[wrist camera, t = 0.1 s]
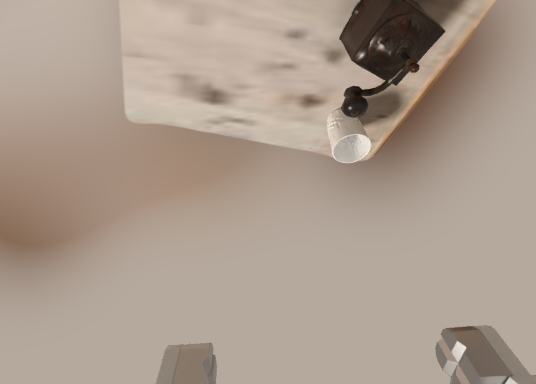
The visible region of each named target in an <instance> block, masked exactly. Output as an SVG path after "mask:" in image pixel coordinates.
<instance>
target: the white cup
mask: <svg viewBox="0 0 536 384" xmlns="http://www.w3.org/2000/svg"><path fill="white" fill-rule="evenodd" d="M327 128H328V135H329V141H330V145H331V149H332V154H333V157H334V158H335V159H336V160H337V161H339V162H342V163H352V162H356V161H358V160H360V159H362V158H363V157H365V156H366V155H367V154H368V152H369V151H370V148H371V141H370V139H369V137H368V135H367V133H366V131H365V129H364V127H363V126H362V124H361V122H360V120H359V119H358V117H357V118H351V117H347V116H346V115H345V114H344V113H343V112H342V110H341V109H337V110H335V111H334V112H332V113H331V114H330V116H329V117H328V119H327Z"/></svg>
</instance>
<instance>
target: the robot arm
mask: <svg viewBox="0 0 536 384" xmlns="http://www.w3.org/2000/svg"><path fill="white" fill-rule="evenodd" d="M441 335H442V337H443V338H442V339H441V340H439V341H438V342H437V345H436V356H437V359H438V362H439V364H440V366H441V368H442V370H443V371H444V372H445V373H447V374H448V375H449V376H450V377H451V382H450V384H536V375H530V374H529V372H528V371H527V370H526V369H525V367H524V366H523V365H522V363H521V362H520V361H519V360H518V358H517V357H516V356H515V355H514V353H513V352H512V351H511V349H510V348H509V347H508V346H507V344H506V343H505V342H504V341H503V339H502V338H501V337H500V335H499V334H498V333H497V332H496V330H495V329H494V328H492V327H491V326H487V325H485V326H467V327H455V328H446V329H443V330H442V333H441ZM216 368H217V365H216V358H215V355H213V345H212V343H202V344H186V345H184V344H182V345H168V346H167V348H166V350H165V352H164V356H163V359H162V363H161V367H160V370H159V374H158V377H157V381H156V384H216V370H217V369H216Z"/></svg>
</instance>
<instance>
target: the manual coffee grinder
mask: <svg viewBox="0 0 536 384" xmlns="http://www.w3.org/2000/svg"><path fill="white" fill-rule="evenodd" d="M444 32H445V30H444V29H443V28H442V27H441V26H440V25H439V24H438V23H437V22H436V21H435V20H434V19H433V18H431V17H430V16H429V15H428V14H427V13H426V12H425V11H424V10H423V9H422V8H421V7H420V6H419V5H418V4H417V3H416V2H414V1H413V0H361V1H360V3H358V4H357V5H356V7H355V8H354V10H353V12H352V16H351V17H350V19H349V21H348V22H347V24H346V26H345V27H344V29H343V32H342V34H341V36H340V38H339V39H340V40H341V41H342V43H343V44H344V47H345V49H346V50H347V52H348V54H349V56H350V58H351V60H352V61H353V62H355V63H356V64H357V65H359V66H360V67H362V68H364V69H366V70H367V71H369V72H371V73H373V74H375V75H376V76H378V77H380V78H381V79H383V80H386V81H385V82H384V83H382V84H381V85H380V86H378V87H376V88H372V89H365V90H362V89H361V88H360V87H359V86H352V87H349V88H347V89H346V91H345V93H344V96H345V97H346V98H345V100H344V102H343V104H342V107H341V110H342V112H343V113H344V114H345V115H346V116H347V117H351V118H357V117H359V116H362V115H363V114H364V113H365V112H366V110H367V107H368V102H367V100H366V99H365V98H363V97H362V96H371V95H374V94H377V93H379V92H381V91H383V90H385V89H386V88H387V87H388V86H390V85H391V84H394V85H397V84H398V83H399V82H400V81H401V80H402V79H403V78H404V77H405V76H406V74H407V73H408V72H409V71H411V73H413V72H414V73H416V72H417V71H418V70H419V65H418V64H417V62H418V61H419V60H420V59H421V58H422V57H423V56H424V54H425V53H426V52H427V51H428V50H429V49H430V48H431V47H432V46H433V44H434V43H435V42H436V41H437V40H438V39H439V38H440V37H441V36H442V35H443V33H444Z"/></svg>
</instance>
